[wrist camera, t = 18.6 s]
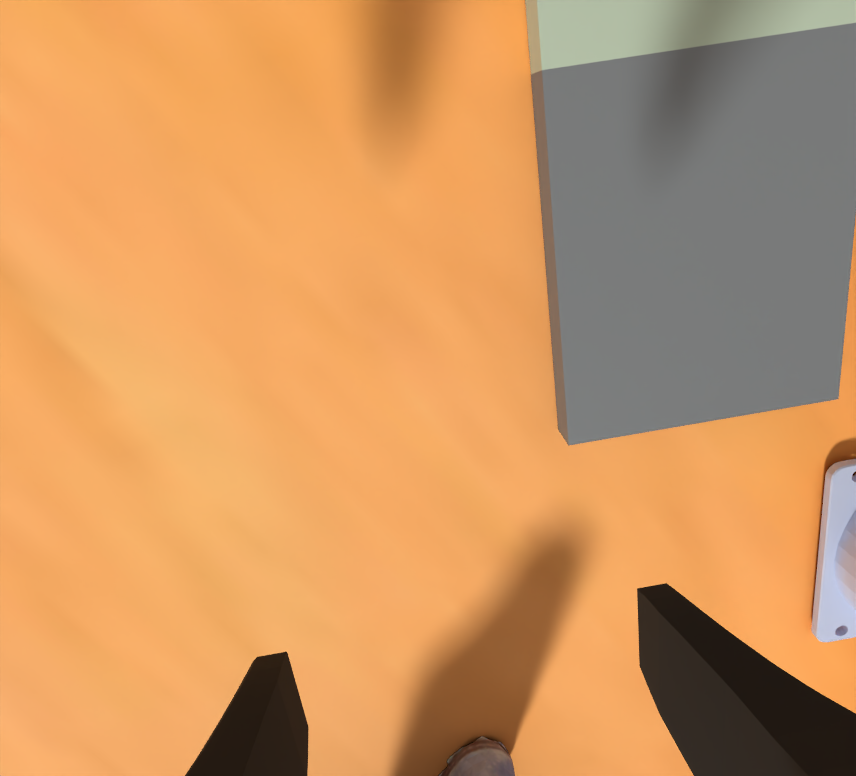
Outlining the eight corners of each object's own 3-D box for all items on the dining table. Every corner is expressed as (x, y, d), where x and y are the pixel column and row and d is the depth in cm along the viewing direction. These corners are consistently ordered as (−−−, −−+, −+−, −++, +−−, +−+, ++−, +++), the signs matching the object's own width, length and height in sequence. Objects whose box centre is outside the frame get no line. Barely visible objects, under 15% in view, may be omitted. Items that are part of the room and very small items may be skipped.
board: (887, -530, 14) (931, -586, 13) (814, 386, 22) (838, 399, 21) (488, -481, 14) (499, -535, 13) (558, 429, 22) (568, 445, 21)
